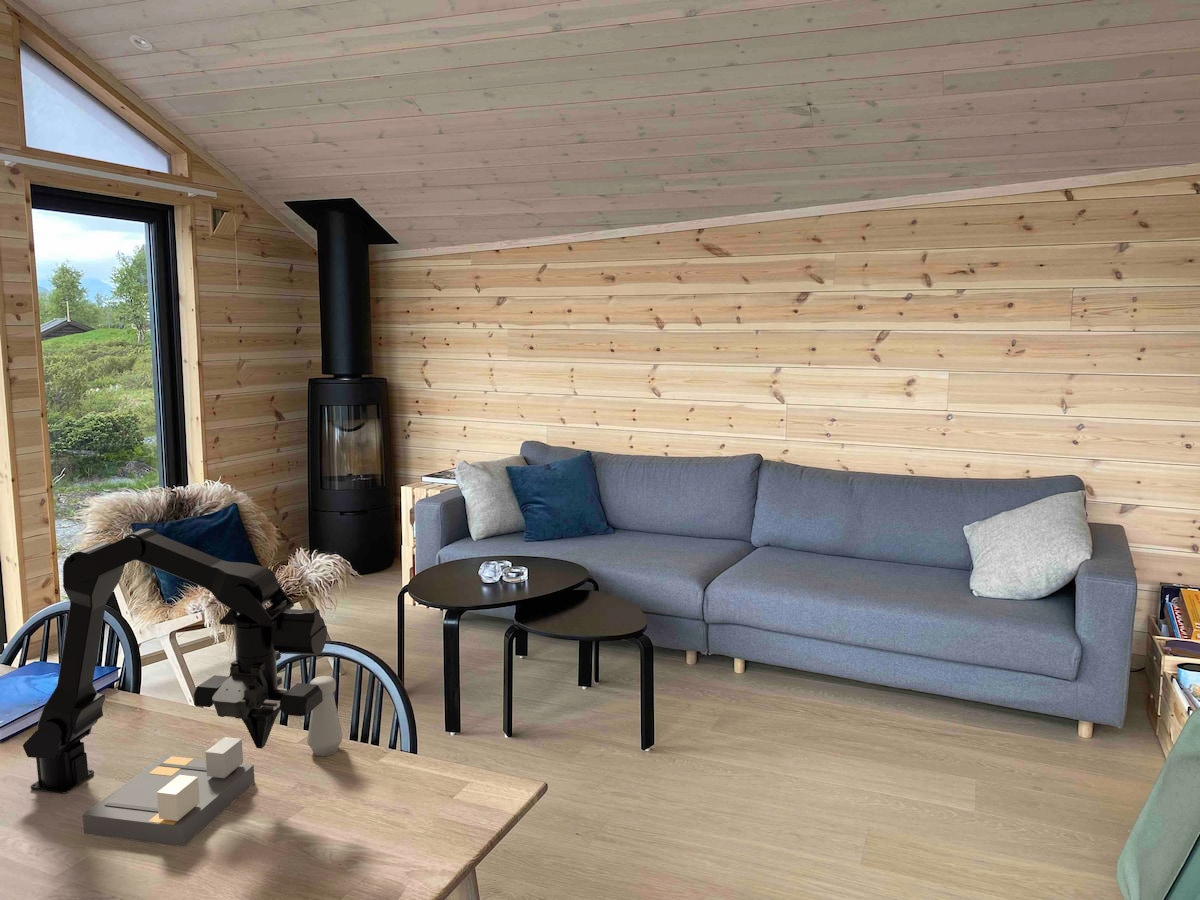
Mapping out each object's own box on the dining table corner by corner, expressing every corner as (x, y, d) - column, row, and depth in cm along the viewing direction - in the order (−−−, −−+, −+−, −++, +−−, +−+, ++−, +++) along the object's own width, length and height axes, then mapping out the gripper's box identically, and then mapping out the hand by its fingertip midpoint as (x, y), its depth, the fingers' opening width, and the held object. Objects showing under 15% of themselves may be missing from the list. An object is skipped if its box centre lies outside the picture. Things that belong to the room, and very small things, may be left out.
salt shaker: (332, 760, 154) (329, 687, 152) (301, 757, 155) (297, 684, 153) (349, 744, 160) (346, 673, 158) (318, 741, 161) (315, 670, 159)
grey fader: (207, 776, 142) (205, 751, 141) (226, 760, 147) (224, 737, 146) (224, 778, 141) (223, 753, 141) (243, 762, 146) (241, 738, 146)
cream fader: (158, 818, 130) (156, 792, 130) (181, 800, 135) (179, 774, 134) (177, 820, 130) (175, 794, 129) (199, 802, 134) (197, 776, 134)
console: (84, 833, 133) (82, 813, 132) (165, 772, 150) (164, 754, 149) (183, 846, 129) (181, 825, 129) (254, 782, 147) (253, 763, 146)
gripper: (166, 666, 134) (173, 766, 136) (284, 677, 130) (289, 779, 133) (212, 639, 144) (218, 732, 147) (322, 648, 141) (326, 744, 143)
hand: (260, 747), depth 142 cm, fingers closed
